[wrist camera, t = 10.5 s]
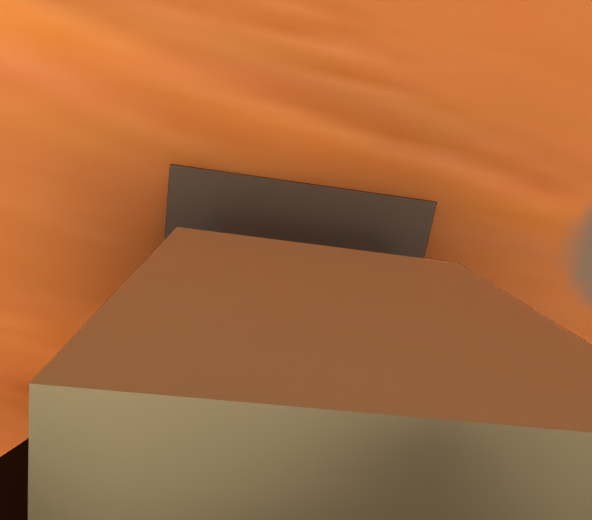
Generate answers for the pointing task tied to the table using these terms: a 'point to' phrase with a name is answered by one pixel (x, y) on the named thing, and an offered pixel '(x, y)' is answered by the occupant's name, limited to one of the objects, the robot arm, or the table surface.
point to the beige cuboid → (310, 394)
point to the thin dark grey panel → (297, 212)
